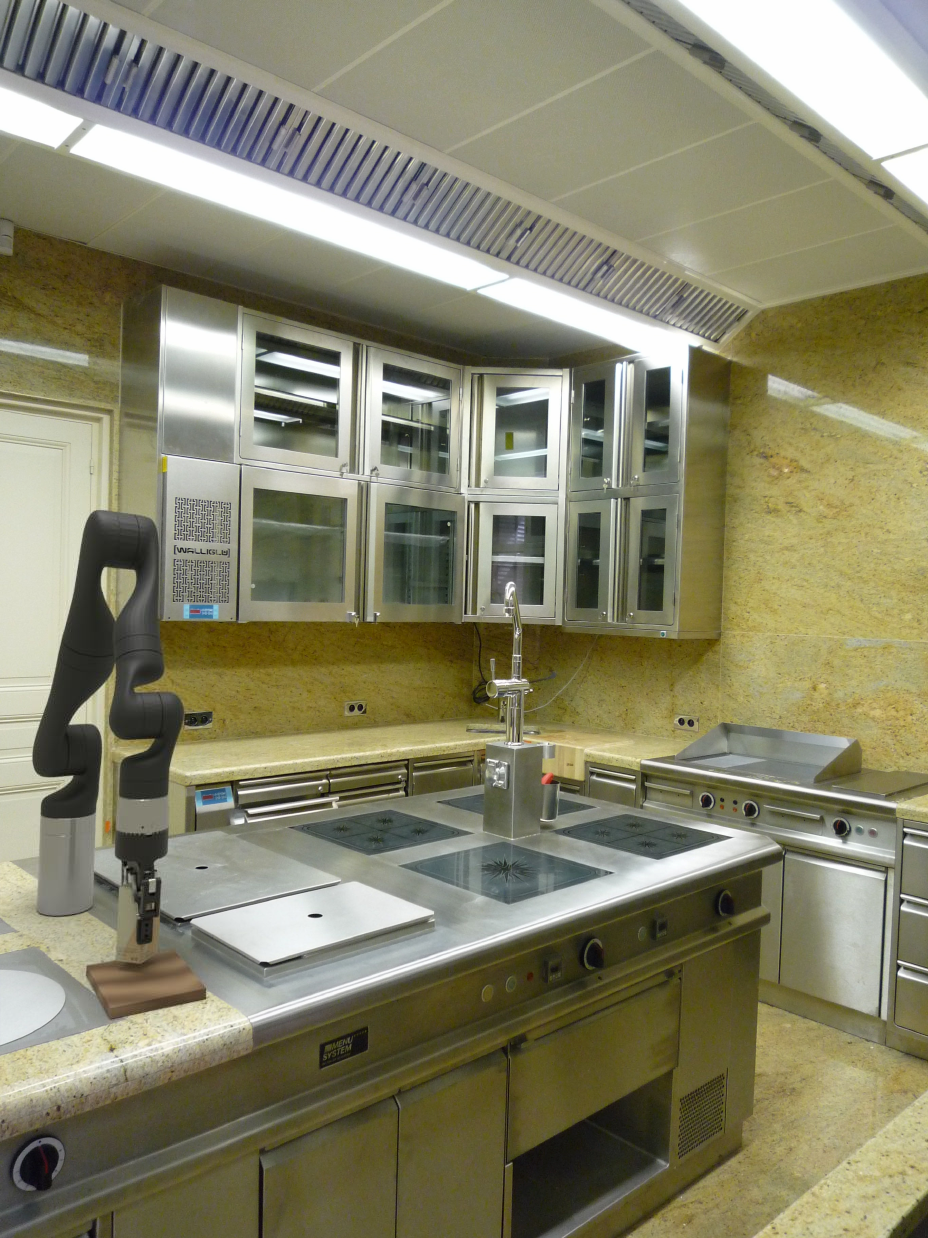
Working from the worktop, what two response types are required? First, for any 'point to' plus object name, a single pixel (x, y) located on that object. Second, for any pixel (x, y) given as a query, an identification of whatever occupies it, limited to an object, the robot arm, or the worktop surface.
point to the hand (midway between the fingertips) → (138, 935)
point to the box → (133, 930)
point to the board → (144, 984)
